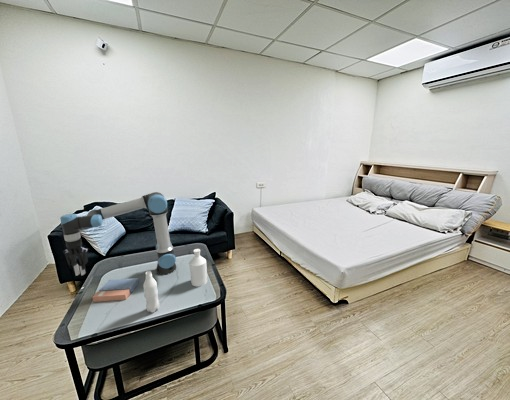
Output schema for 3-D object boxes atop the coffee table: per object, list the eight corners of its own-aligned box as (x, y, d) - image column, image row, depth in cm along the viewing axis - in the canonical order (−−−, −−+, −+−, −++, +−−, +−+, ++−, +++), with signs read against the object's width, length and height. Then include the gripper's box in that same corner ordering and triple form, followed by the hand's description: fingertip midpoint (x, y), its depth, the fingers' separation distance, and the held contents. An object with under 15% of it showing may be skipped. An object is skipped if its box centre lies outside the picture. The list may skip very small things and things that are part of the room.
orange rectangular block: (130, 294, 144) (129, 289, 143) (126, 299, 139) (125, 294, 138) (98, 296, 142) (97, 291, 141) (93, 301, 137) (92, 296, 136)
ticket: (138, 282, 157) (138, 277, 156) (131, 293, 145) (130, 288, 144) (109, 284, 155) (109, 279, 154) (99, 295, 144) (98, 290, 143)
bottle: (200, 275, 165) (197, 245, 159) (211, 280, 158) (209, 249, 153) (187, 283, 155) (184, 251, 150) (198, 288, 149) (195, 255, 143)
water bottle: (149, 305, 133) (144, 269, 127) (161, 305, 133) (156, 268, 128) (144, 314, 126) (139, 276, 120) (157, 313, 126) (152, 275, 121)
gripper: (90, 236, 134) (97, 270, 139) (64, 237, 133) (71, 271, 138) (82, 241, 127) (89, 276, 132) (54, 242, 126) (62, 278, 131)
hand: (80, 274), depth 135 cm, fingers open, 3 cm apart
